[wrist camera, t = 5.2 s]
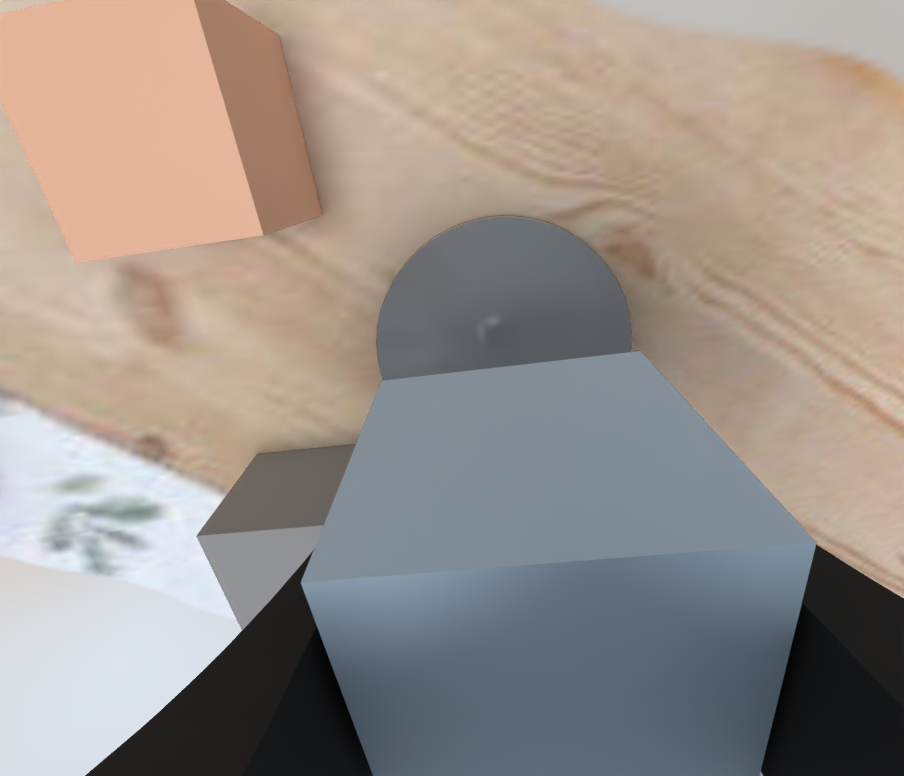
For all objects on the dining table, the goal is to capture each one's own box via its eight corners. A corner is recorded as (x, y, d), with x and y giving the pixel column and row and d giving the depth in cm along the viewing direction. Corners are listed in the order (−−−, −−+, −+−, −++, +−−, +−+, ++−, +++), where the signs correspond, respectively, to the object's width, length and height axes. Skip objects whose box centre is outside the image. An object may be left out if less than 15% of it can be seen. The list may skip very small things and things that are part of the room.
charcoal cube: (370, 441, 20) (340, 523, 15) (393, 532, 22) (373, 628, 17) (257, 452, 20) (196, 536, 16) (290, 541, 22) (245, 636, 18)
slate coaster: (676, 290, 16) (685, 295, 16) (543, 477, 20) (545, 489, 19) (443, 164, 15) (442, 165, 14) (346, 390, 19) (340, 399, 18)
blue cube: (640, 350, 9) (816, 542, 4) (634, 550, 11) (749, 818, 7) (381, 380, 9) (300, 582, 5) (422, 567, 11) (392, 829, 7)
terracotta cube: (279, 35, 14) (186, -25, 9) (323, 214, 16) (263, 235, 12) (122, 65, 14) (-37, 21, 10) (184, 234, 16) (76, 262, 12)
